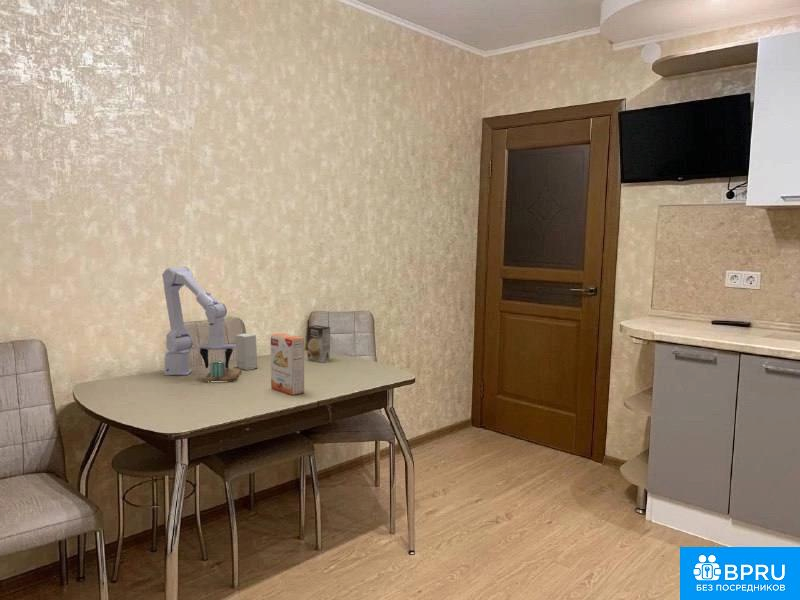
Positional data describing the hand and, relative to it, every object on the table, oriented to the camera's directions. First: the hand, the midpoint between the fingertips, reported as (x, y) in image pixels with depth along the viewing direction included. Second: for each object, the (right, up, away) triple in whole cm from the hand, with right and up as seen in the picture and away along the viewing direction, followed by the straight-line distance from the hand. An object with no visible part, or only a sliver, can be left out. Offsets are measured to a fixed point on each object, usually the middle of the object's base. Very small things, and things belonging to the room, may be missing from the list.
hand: (216, 367), depth 251 cm
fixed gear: (-1, -2, +9) cm, 10 cm away
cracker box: (+31, -7, -16) cm, 36 cm away
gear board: (+2, -4, +5) cm, 7 cm away
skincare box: (+6, -3, +22) cm, 23 cm away
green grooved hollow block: (0, -3, 0) cm, 3 cm away
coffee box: (+36, -1, +41) cm, 54 cm away
